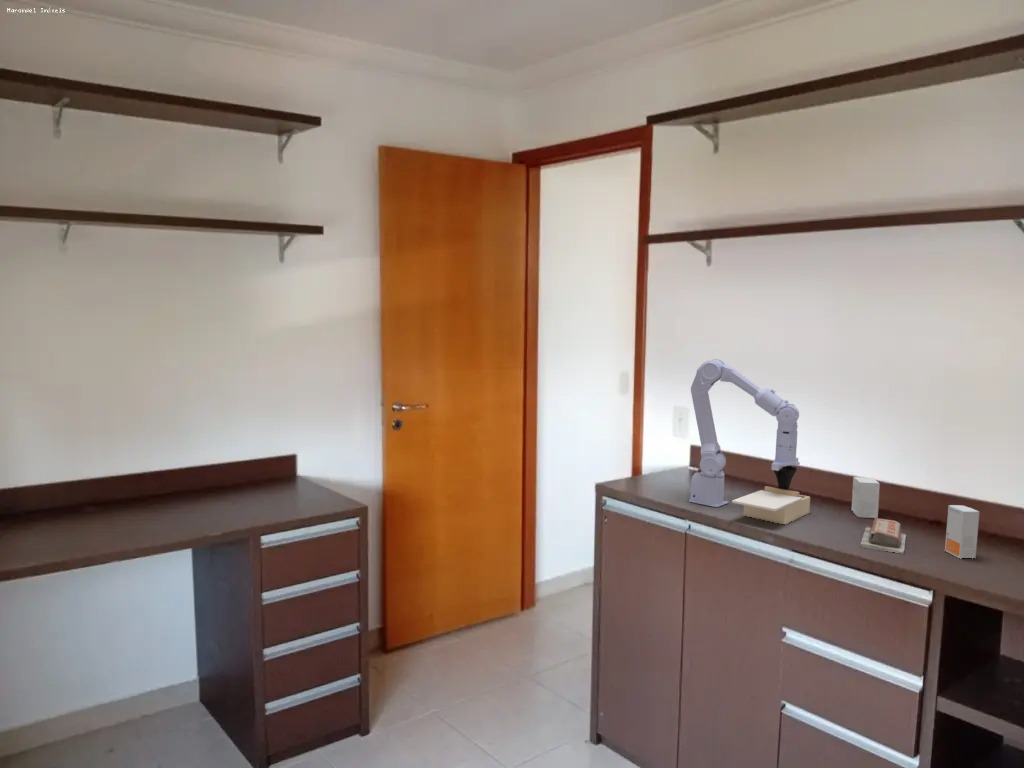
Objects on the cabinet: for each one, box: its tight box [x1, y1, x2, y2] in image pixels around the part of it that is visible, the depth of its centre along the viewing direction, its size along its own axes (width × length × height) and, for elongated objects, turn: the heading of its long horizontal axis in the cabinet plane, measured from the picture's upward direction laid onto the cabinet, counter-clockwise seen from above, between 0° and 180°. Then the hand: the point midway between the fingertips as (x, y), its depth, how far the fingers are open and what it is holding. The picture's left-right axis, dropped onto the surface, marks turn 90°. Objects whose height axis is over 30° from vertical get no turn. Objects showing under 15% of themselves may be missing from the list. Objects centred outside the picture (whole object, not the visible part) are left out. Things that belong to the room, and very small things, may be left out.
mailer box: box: [743, 494, 811, 525], centre depth 224 cm, size 12×18×5 cm, turn 138°
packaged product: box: [860, 517, 907, 555], centre depth 199 cm, size 18×5×10 cm
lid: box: [731, 485, 802, 511], centre depth 218 cm, size 13×19×2 cm, turn 138°
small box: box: [851, 476, 881, 519], centre depth 226 cm, size 8×6×10 cm
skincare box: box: [944, 504, 980, 560], centre depth 189 cm, size 6×4×12 cm
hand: (783, 491), depth 226 cm, fingers closed
